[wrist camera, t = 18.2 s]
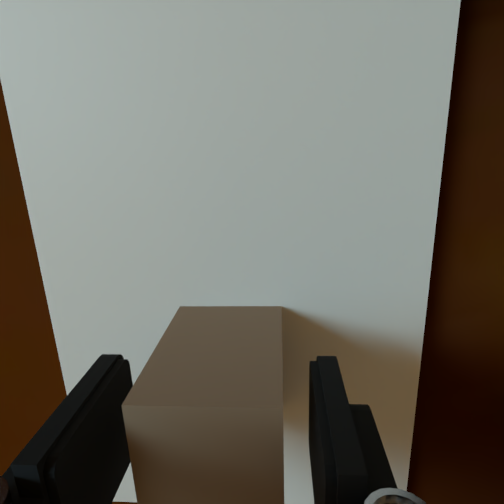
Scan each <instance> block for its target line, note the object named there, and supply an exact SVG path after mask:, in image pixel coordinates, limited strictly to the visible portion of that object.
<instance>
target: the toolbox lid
mask: <svg viewBox="0 0 504 504" xmlns="http://www.w3.org/2000/svg"><path fill="white" fill-rule="evenodd" d="M460 2H461V0H0V79H1V84H2V89H3V93H4V98H5V103H6V108H7V112H8V117H9V122H10V127H11V131H12V136H13V141H14V146H15V150H16V155H17V160H18V165H19V169H20V174H21V179H22V184H23V188H24V193H25V198H26V203H27V207H28V212H29V217H30V222H31V226H32V231H33V236H34V241H35V245H36V250H37V255H38V260H39V264H40V269H41V274H42V279H43V283H44V288H45V293H46V298H47V302H48V307H49V312H50V317H51V321H52V326H53V331H54V336H55V340H56V345H57V350H58V355H59V359H60V364H61V369H62V374H63V378H64V383H65V388H66V393H67V395H68V394H69V393H70V392H71V390H72V389H73V388H74V387H75V386H76V384H77V383H78V382H79V381H80V380H81V378H82V377H83V376H84V375H85V373H86V372H87V371H88V370H89V369H90V367H91V366H92V365H93V364H94V362H95V361H96V360H97V359H98V358H99V356H101V355H102V354H121V355H122V356H123V357H124V359H127V360H128V361H129V364H130V370H131V376H132V383H133V387H132V388H131V390H130V392H129V393H128V395H127V397H126V398H125V400H124V402H123V404H122V412H123V418H124V424H125V430H126V436H127V442H128V449H129V455H130V461H131V462H130V464H129V466H128V469H127V471H126V473H125V475H124V477H123V480H122V482H121V484H120V486H119V488H118V490H117V493H116V495H115V497H114V499H113V501H118V502H137V504H314V495H313V485H312V474H311V464H310V454H309V362H310V361H316V358H317V356H336V357H337V360H338V364H339V368H340V372H341V375H342V379H343V383H344V387H345V391H346V394H347V398H348V402H349V404H368V405H369V406H370V409H371V411H372V414H373V417H374V420H375V423H376V426H377V429H378V432H379V435H380V438H381V441H382V444H383V447H384V449H385V452H386V455H387V458H388V461H389V464H390V467H391V470H392V473H393V476H394V479H395V482H396V485H397V488H398V489H402V490H404V491H407V482H408V473H409V464H410V455H411V446H412V437H413V428H414V419H415V410H416V400H417V391H418V382H419V373H420V364H421V355H422V346H423V337H424V328H425V319H426V310H427V301H428V292H429V283H430V274H431V265H432V256H433V247H434V238H435V228H436V219H437V210H438V201H439V192H440V183H441V174H442V165H443V156H444V147H445V138H446V129H447V120H448V111H449V102H450V93H451V84H452V75H453V66H454V56H455V47H456V38H457V29H458V20H459V11H460Z"/></svg>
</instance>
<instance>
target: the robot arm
mask: <svg viewBox="0 0 504 504" xmlns="http://www.w3.org/2000/svg"><path fill="white" fill-rule="evenodd" d="M132 387H133V383H132V376H131V370H130V364H129V361H128V360H127V359H124V357H123V356H122V355H121V354H102V355H101V356H99V358H98V359H97V360H96V361H95V362H94V364H93V365H92V366H91V367H90V369H89V370H88V371H87V372H86V373H85V375H84V376H83V377H82V378H81V380H80V381H79V382H78V383H77V384H76V386H75V387H74V388H73V389H72V390H71V392H70V393H69V394H68V395H67V397H66V398H65V399H64V400H63V401H62V403H61V404H60V405H59V406H58V407H57V409H56V410H55V411H54V412H53V414H52V415H51V416H50V417H49V418H48V420H47V421H46V422H45V423H44V424H43V426H42V427H41V428H40V429H39V431H38V432H37V433H36V434H35V435H34V437H33V438H32V439H31V440H30V442H29V443H28V444H27V445H26V446H25V448H24V449H23V450H22V451H21V452H20V454H19V455H18V456H17V457H16V459H15V460H14V461H13V462H12V463H11V466H10V467H9V468H8V469H7V471H6V472H5V473H4V474H3V475H2V476H0V504H112V501H113V499H114V497H115V495H116V493H117V490H118V488H119V486H120V484H121V482H122V480H123V477H124V475H125V473H126V471H127V469H128V466H129V464H130V462H131V461H130V455H129V449H128V442H127V436H126V430H125V424H124V418H123V412H122V404H123V402H124V400H125V398H126V397H127V395H128V393H129V392H130V390H131V388H132ZM309 454H310V464H311V474H312V485H313V495H314V504H426V503H425V502H424V501H423V500H421V499H420V498H418V497H417V496H415V495H414V494H412V493H409V492H407V491H404V490H402V489H398V488H397V485H396V482H395V479H394V476H393V473H392V470H391V467H390V464H389V461H388V458H387V455H386V452H385V449H384V447H383V444H382V441H381V438H380V435H379V432H378V429H377V426H376V423H375V420H374V417H373V414H372V411H371V409H370V406H369V405H368V404H349V402H348V398H347V394H346V391H345V387H344V383H343V379H342V375H341V372H340V368H339V364H338V360H337V357H336V356H317V358H316V361H310V362H309Z"/></svg>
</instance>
